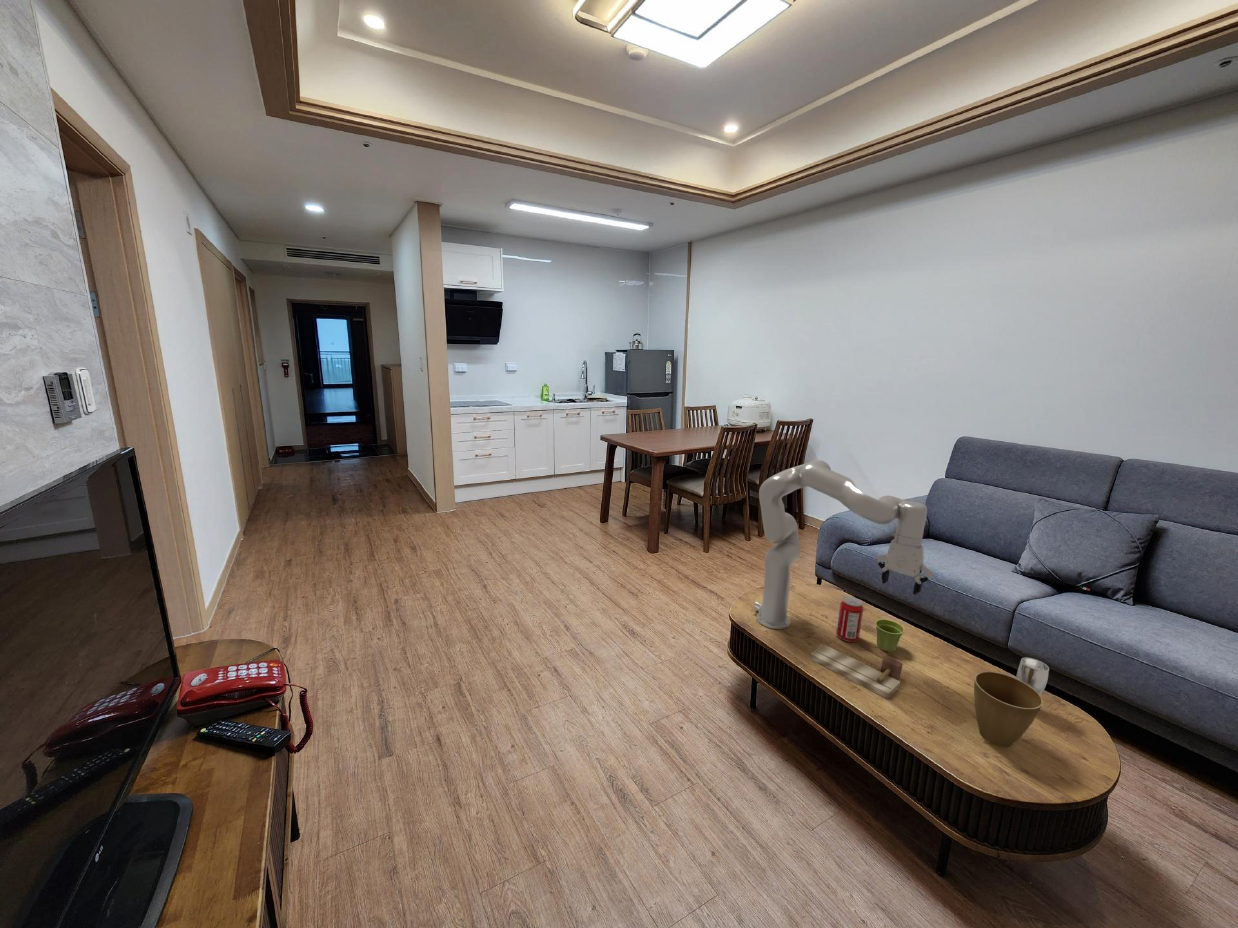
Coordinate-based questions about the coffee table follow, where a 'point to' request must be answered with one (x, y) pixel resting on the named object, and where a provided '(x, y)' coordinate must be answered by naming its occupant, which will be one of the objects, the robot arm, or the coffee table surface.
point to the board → (855, 671)
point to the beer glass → (1033, 673)
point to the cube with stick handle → (890, 669)
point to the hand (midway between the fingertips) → (900, 587)
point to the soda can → (849, 619)
